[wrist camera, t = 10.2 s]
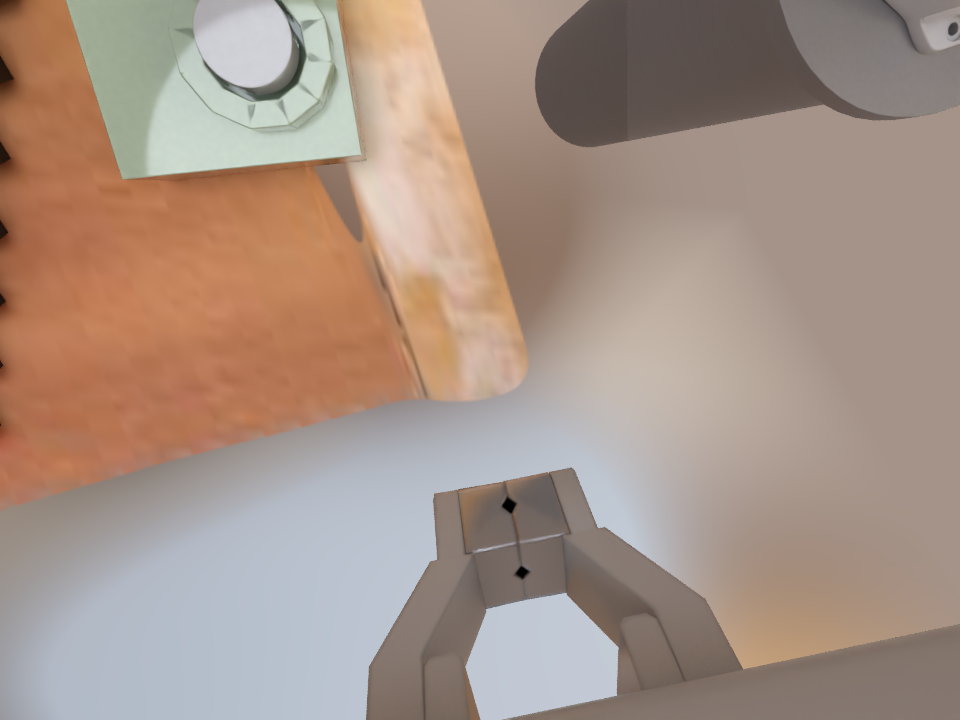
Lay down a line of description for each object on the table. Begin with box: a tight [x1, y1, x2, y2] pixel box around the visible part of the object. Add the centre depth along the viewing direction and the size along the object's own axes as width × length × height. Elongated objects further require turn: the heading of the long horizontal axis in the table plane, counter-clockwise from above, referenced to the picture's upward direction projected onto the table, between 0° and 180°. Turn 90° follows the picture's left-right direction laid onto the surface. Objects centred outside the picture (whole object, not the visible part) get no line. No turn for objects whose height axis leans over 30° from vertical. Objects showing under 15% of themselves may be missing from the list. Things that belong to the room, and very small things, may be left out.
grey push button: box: [193, 0, 300, 95], centre depth 23 cm, size 4×4×2 cm
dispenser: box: [66, 0, 367, 181], centre depth 27 cm, size 12×10×8 cm
